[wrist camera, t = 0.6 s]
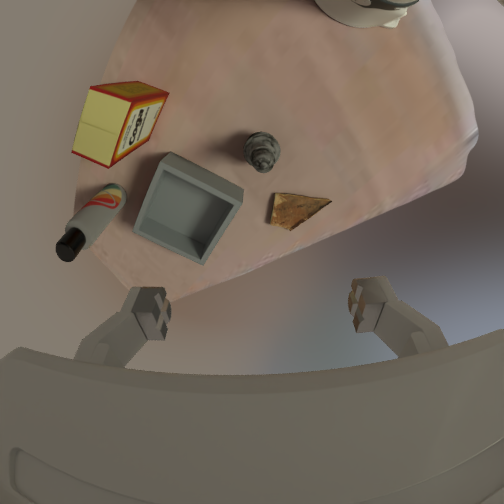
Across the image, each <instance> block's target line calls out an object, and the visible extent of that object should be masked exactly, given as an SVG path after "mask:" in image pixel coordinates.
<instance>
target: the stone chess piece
mask: <svg viewBox="0 0 504 504" xmlns="http://www.w3.org/2000/svg"><path fill="white" fill-rule="evenodd" d="M280 152H281V151H280V146H279V144H278V142H277V141H276V139H275V138H274V137H273V136H272V135H270V134H269V133H266V132H257V133H254V134H253V135H251V136H250V137H249V139H248V140H247V142H246V143H245V146H244V157H245V159H246V161H247V162H248V163H249V164H250V165H252V166H253V167H254V168H255V169H256V170H257V171H258V172H260V173H267V172H269V171H270V170H271V169H272V168H273V166H274V164H275V163H276V162H277V161H278V159H279V157H280Z"/></svg>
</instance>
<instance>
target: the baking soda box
mask: <svg viewBox="0 0 504 504" xmlns="http://www.w3.org/2000/svg"><path fill="white" fill-rule="evenodd" d="M168 95H169V93H168V92H166V91H163V90H161V89H158V88H156V87H153V86H150V85H147V84H145V83H142V82H139V81H132V82H120V83H111V84H103V85H96V86H90V89H89V92H88V95H87V98H86V101H85V104H84V107H83V110H82V114H81V117H80V121H79V124H78V128H77V132H76V135H75V140H74V144H73V148H72V153H74V154H76V155H78V156H81V157H83V158H85V159H87V160H90V161H92V162H94V163H97V164H99V165H101V166H103V167H106V168H108V169H109V168H110V167H112V166H113V165H114V164H116V163H117V162H118V161H120V160H121V159H123V158H124V157H125V156H127V155H128V154H130V153H131V152H133V151H134V150H135V149H137V148H138V147H140V146H141V145H143V144H144V143H146V142H147V141H149V139H150V136H151V134H152V131H153V129H154V126H155V124H156V122H157V119H158V117H159V115H160V113H161V110H162V108H163V106H164V104H165V102H166V99H167V97H168Z"/></svg>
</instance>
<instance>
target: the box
mask: <svg viewBox="0 0 504 504" xmlns="http://www.w3.org/2000/svg"><path fill="white" fill-rule="evenodd" d="M243 193H244V189H242V188H241V187H239V186H237V185H235V184H233V183H231V182H229V181H228V180H226V179H224V178H222V177H220V176H218V175H216V174H214V173H212V172H210V171H208V170H206V169H204V168H203V167H201V166H199V165H197V164H195V163H193V162H191V161H189V160H187V159H185V158H183V157H181V156H179V155H177V154H174V153H172V152H170V153H169V154H168V155H167V156H165V157H164V158H163V159H162V160H161V161H160V163H159V165H158V168H157V170H156V172H155V175H154V177H153V179H152V182H151V184H150V186H149V189H148V191H147V194H146V196H145V199H144V201H143V204H142V207H141V209H140V212H139V214H138V217H137V220H136V223H135V225H134V228H133V231H132V232H134V233H136V234H138V235H140V236H142V237H144V238H146V239H148V240H150V241H152V242H154V243H157V244H159V245H161V246H163V247H165V248H167V249H169V250H171V251H173V252H175V253H177V254H179V255H182V256H184V257H186V258H188V259H190V260H192V261H194V262H197V263H199V264H201V265H204V264H205V262H206V260H207V259H208V257H209V255H210V254H211V252H212V251H213V249H214V247H215V246H216V244H217V243H218V241H219V239H220V238H221V236H222V235H223V233H224V232H225V230H226V228H227V227H228V225H229V224H230V222H231V221H232V219H233V217H234V216H235V214H236V213H237V211H238V210H239V208H240V207H241V205H242V203H243Z"/></svg>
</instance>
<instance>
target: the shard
mask: <svg viewBox="0 0 504 504" xmlns="http://www.w3.org/2000/svg"><path fill="white" fill-rule="evenodd" d="M331 202H332V201H331V200H329V199H324V198H309V197H305V196H298V195H291V194H282V193H275V198H274V205H273V211H272V215H271V220H270V224H271V226H279V227H284V228H286V229H289V230H290V231H291V230H292V229H294V228H295V227H297V226H299V225H300V224H301V223H303V222H304V221H306V220H307V219H309V218H310V217H312V216H313V215H314V214H316V213H317V212H318V211H320V210H321V209H322V208H323V207H325V206H326V205H328V204H329V203H331Z"/></svg>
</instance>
